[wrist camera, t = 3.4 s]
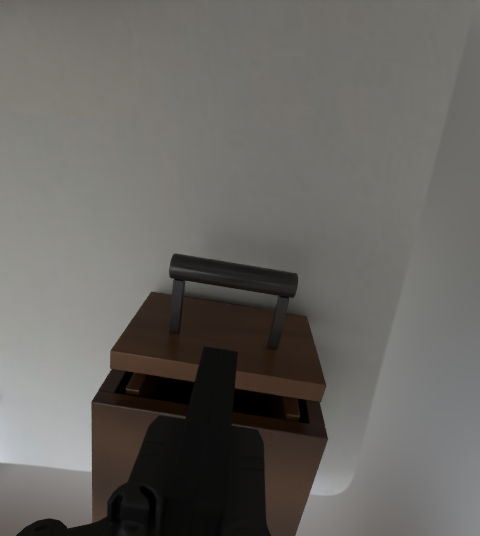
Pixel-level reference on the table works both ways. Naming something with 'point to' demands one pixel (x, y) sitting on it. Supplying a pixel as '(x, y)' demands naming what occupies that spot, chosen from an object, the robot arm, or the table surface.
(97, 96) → the table surface
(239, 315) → the drawer
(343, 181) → the table surface
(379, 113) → the table surface
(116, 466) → the cabinet
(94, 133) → the table surface
